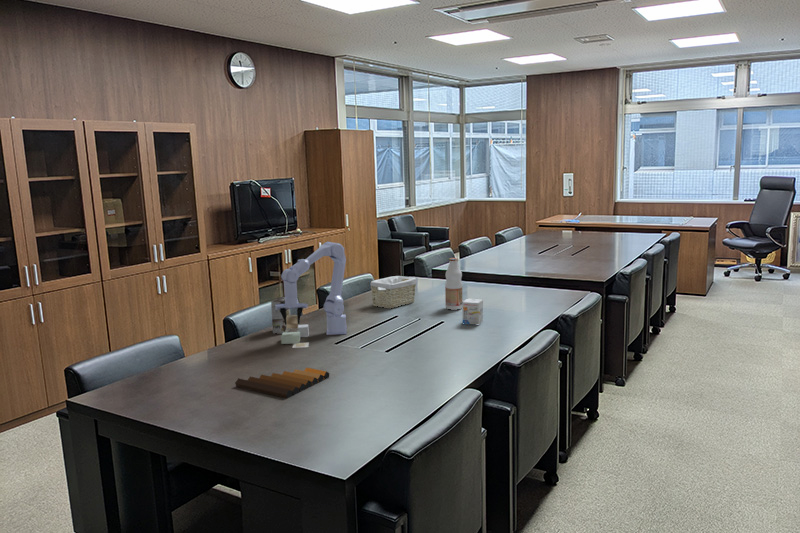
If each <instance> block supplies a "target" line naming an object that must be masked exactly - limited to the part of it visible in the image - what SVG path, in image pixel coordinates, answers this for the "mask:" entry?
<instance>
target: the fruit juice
mask: <svg viewBox="0 0 800 533" xmlns="http://www.w3.org/2000/svg"><path fill="white" fill-rule="evenodd" d="M448 262H449V264H448V267H447V269H446V271H445V284H444V287H445V292H444V293H445V296H444V298H445V309H446V308H447V309H446V310H448V309H451V310H450V311H458V310H457V309H460V310H462V309H461V308H462V302H463V301H464V300H463V281H462V277H463V272H462V271H461V269H460V265H459V263H458V262H459V258H457V257H450V258H448Z"/></svg>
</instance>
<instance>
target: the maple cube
mask: <svg viewBox="0 0 800 533" xmlns="http://www.w3.org/2000/svg"><path fill="white" fill-rule="evenodd" d="M286 325H287V329H291V330H292V329H297V328H298V325H299V324H298V315H297V314H290V315H287V317H286Z"/></svg>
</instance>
